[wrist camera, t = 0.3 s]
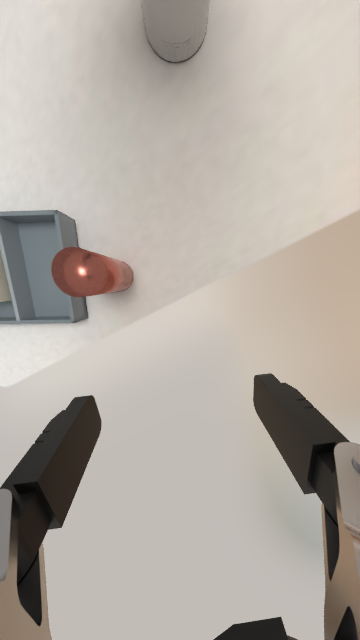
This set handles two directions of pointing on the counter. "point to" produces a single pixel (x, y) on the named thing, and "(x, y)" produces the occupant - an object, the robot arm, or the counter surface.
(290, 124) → the counter surface
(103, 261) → the copper cylinder
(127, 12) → the counter surface
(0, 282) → the cream block
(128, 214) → the counter surface
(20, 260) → the tray
